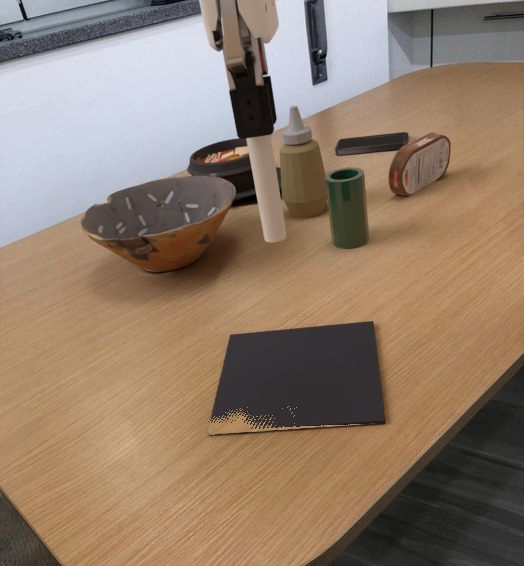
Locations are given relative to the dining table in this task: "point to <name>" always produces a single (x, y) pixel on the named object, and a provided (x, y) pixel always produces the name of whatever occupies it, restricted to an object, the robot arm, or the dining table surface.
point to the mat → (302, 377)
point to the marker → (267, 187)
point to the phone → (371, 143)
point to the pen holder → (347, 207)
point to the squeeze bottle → (302, 170)
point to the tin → (419, 164)
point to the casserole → (227, 165)
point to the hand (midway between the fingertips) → (257, 128)
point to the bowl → (161, 220)
